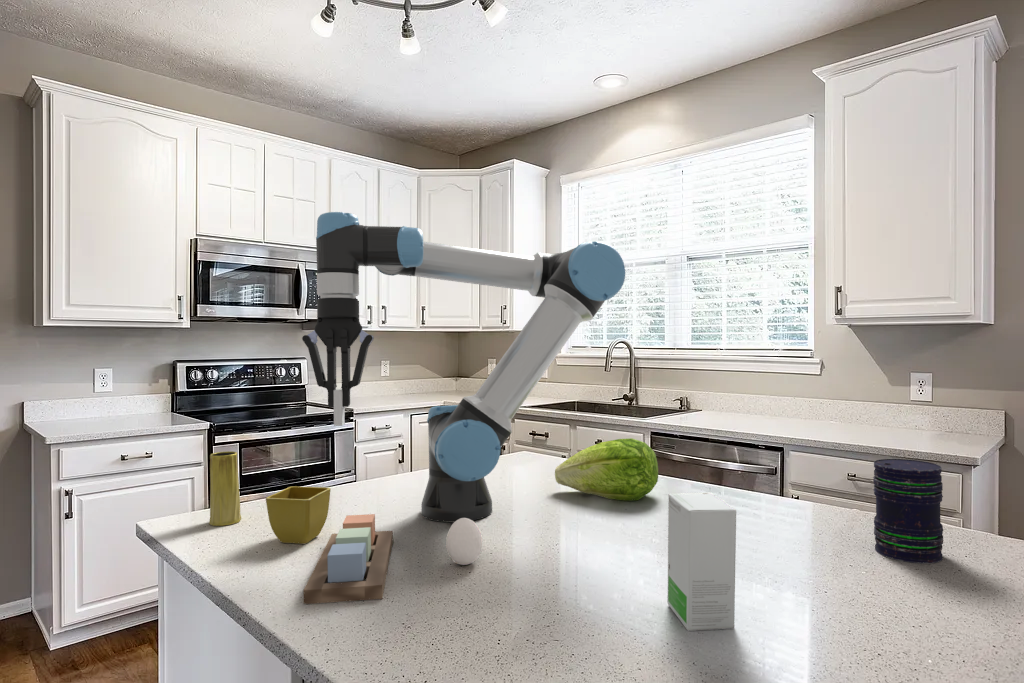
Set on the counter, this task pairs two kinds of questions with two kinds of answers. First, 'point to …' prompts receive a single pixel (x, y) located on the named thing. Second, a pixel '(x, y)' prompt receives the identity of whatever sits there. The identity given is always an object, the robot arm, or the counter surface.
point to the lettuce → (611, 470)
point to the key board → (351, 591)
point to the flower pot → (298, 513)
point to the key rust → (361, 523)
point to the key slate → (346, 562)
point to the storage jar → (908, 510)
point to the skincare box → (701, 560)
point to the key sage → (356, 537)
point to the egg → (464, 541)
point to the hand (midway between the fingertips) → (339, 424)
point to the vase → (224, 489)
